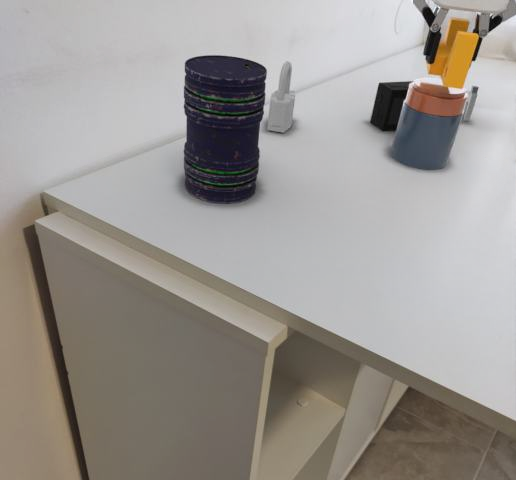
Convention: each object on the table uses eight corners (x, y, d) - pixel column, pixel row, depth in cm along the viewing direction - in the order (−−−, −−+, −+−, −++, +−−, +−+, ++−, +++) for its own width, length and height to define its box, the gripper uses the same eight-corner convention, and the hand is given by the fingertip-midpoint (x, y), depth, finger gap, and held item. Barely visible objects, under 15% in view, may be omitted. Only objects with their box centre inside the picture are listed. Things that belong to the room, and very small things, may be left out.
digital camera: (386, 134, 94) (396, 91, 89) (369, 122, 97) (378, 81, 93) (433, 130, 98) (445, 89, 93) (415, 119, 101) (426, 79, 96)
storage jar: (204, 209, 67) (208, 82, 57) (171, 177, 73) (169, 57, 63) (270, 196, 72) (284, 76, 62) (234, 166, 78) (241, 53, 68)
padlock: (273, 117, 95) (279, 55, 88) (295, 121, 94) (303, 58, 88) (263, 130, 90) (269, 65, 83) (286, 134, 89) (295, 69, 83)
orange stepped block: (425, 63, 83) (438, 15, 79) (453, 67, 83) (468, 19, 79) (430, 84, 74) (445, 31, 70) (462, 89, 74) (479, 36, 70)
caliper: (468, 124, 102) (480, 89, 98) (462, 123, 102) (474, 88, 98) (455, 92, 117) (465, 61, 113) (450, 91, 117) (460, 60, 113)
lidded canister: (441, 150, 90) (463, 80, 83) (451, 172, 84) (477, 98, 76) (387, 143, 90) (404, 73, 83) (393, 165, 83) (413, 91, 76)
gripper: (431, -106, 63) (392, 64, 75) (574, -89, 63) (511, 78, 75) (421, -108, 68) (386, 50, 80) (552, -92, 68) (497, 64, 81)
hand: (447, 62), depth 78 cm, fingers closed on orange stepped block, 4 cm apart
